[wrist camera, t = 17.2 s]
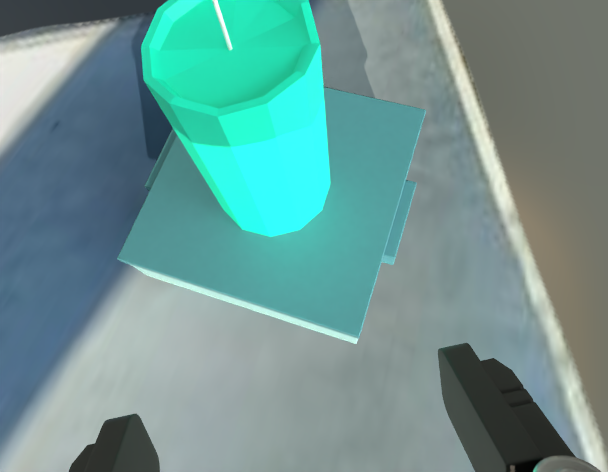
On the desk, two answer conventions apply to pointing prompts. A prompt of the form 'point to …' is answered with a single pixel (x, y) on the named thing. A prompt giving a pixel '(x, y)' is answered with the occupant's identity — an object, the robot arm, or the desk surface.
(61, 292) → the desk surface
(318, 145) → the candle
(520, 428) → the robot arm
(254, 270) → the food tub
